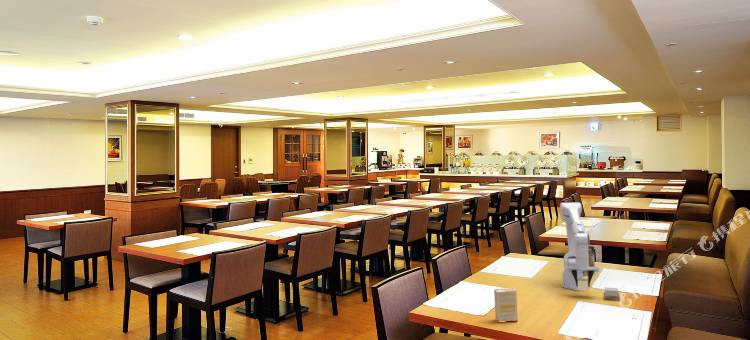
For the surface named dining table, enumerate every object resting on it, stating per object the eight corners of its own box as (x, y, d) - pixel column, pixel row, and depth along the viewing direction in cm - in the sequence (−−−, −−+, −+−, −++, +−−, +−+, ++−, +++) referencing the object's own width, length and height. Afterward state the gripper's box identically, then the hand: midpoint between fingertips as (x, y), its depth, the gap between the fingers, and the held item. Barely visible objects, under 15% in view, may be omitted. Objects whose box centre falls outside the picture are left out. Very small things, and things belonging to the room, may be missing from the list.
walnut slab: (604, 301, 228) (604, 295, 228) (603, 297, 234) (603, 292, 234) (619, 302, 226) (619, 296, 226) (618, 298, 232) (618, 293, 232)
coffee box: (582, 276, 275) (581, 247, 275) (574, 273, 281) (573, 245, 281) (595, 274, 277) (594, 246, 277) (587, 272, 283) (587, 244, 283)
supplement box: (514, 318, 207) (513, 287, 207) (517, 322, 202) (516, 290, 202) (494, 319, 207) (493, 288, 207) (498, 323, 202) (497, 291, 202)
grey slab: (605, 295, 228) (605, 290, 228) (605, 292, 233) (604, 287, 233) (618, 296, 226) (618, 291, 226) (617, 293, 231) (617, 288, 231)
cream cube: (577, 290, 233) (577, 280, 233) (577, 287, 237) (577, 278, 237) (588, 290, 231) (587, 281, 231) (588, 288, 236) (587, 279, 236)
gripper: (565, 259, 233) (566, 287, 233) (599, 260, 228) (599, 289, 228) (565, 256, 240) (566, 283, 240) (598, 257, 234) (599, 285, 234)
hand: (582, 286), depth 234 cm, fingers closed on cream cube, 4 cm apart
